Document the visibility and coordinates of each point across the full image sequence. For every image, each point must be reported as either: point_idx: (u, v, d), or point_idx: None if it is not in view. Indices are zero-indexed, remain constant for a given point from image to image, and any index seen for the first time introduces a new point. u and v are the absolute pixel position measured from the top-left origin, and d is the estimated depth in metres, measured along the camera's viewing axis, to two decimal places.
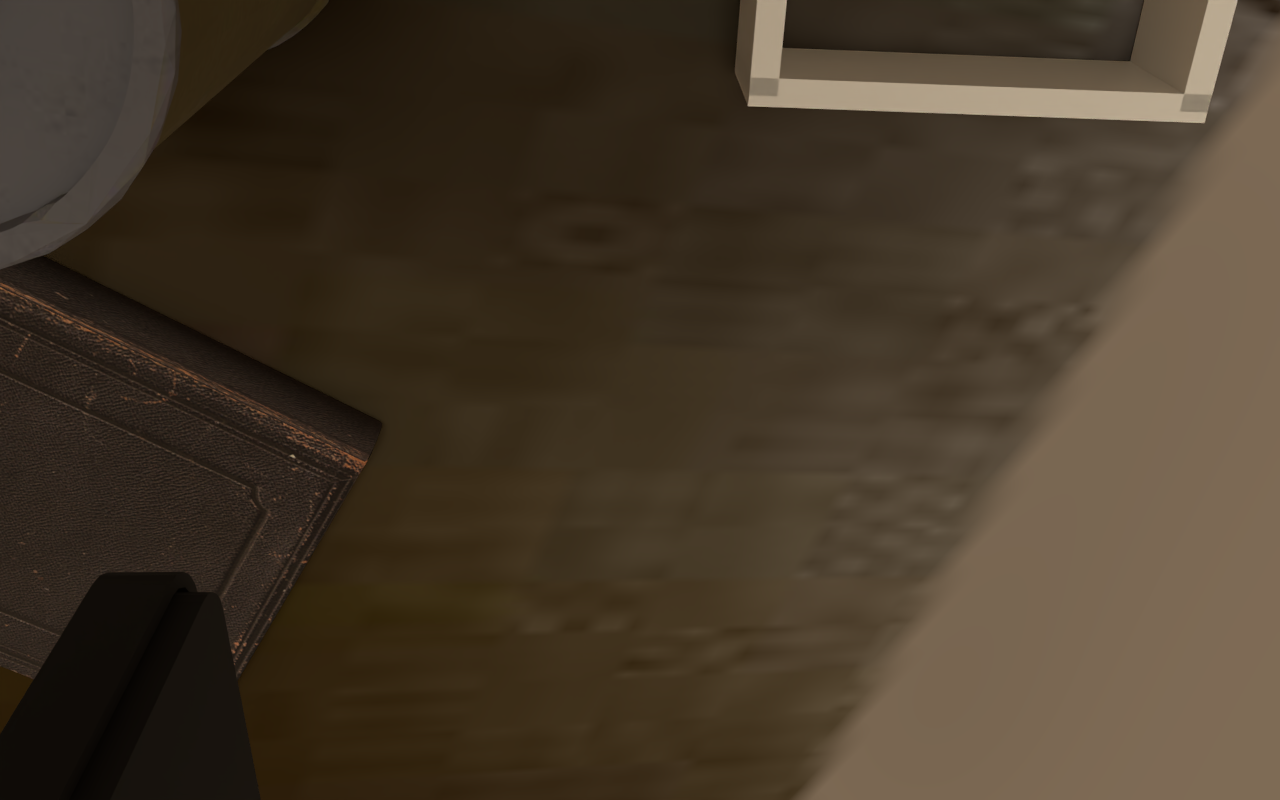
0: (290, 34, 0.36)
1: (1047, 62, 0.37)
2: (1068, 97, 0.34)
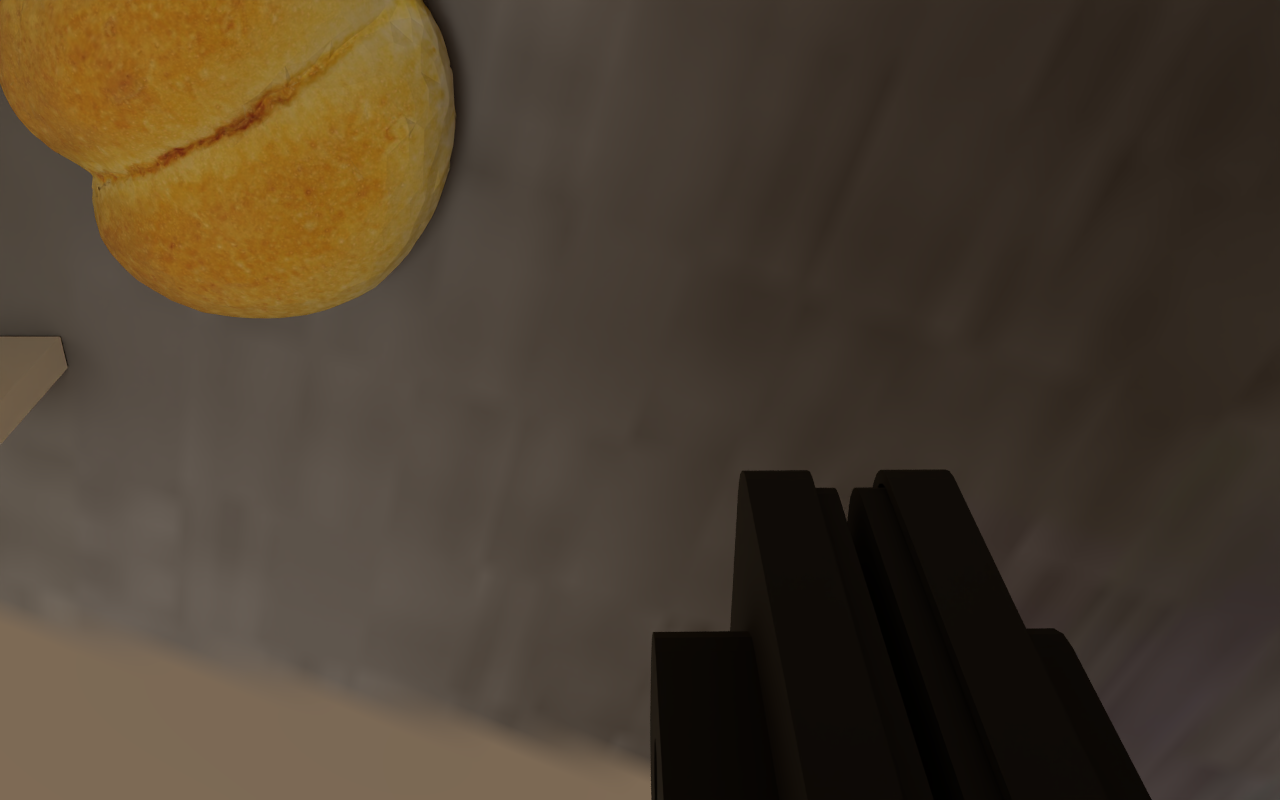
0: None
1: None
2: None
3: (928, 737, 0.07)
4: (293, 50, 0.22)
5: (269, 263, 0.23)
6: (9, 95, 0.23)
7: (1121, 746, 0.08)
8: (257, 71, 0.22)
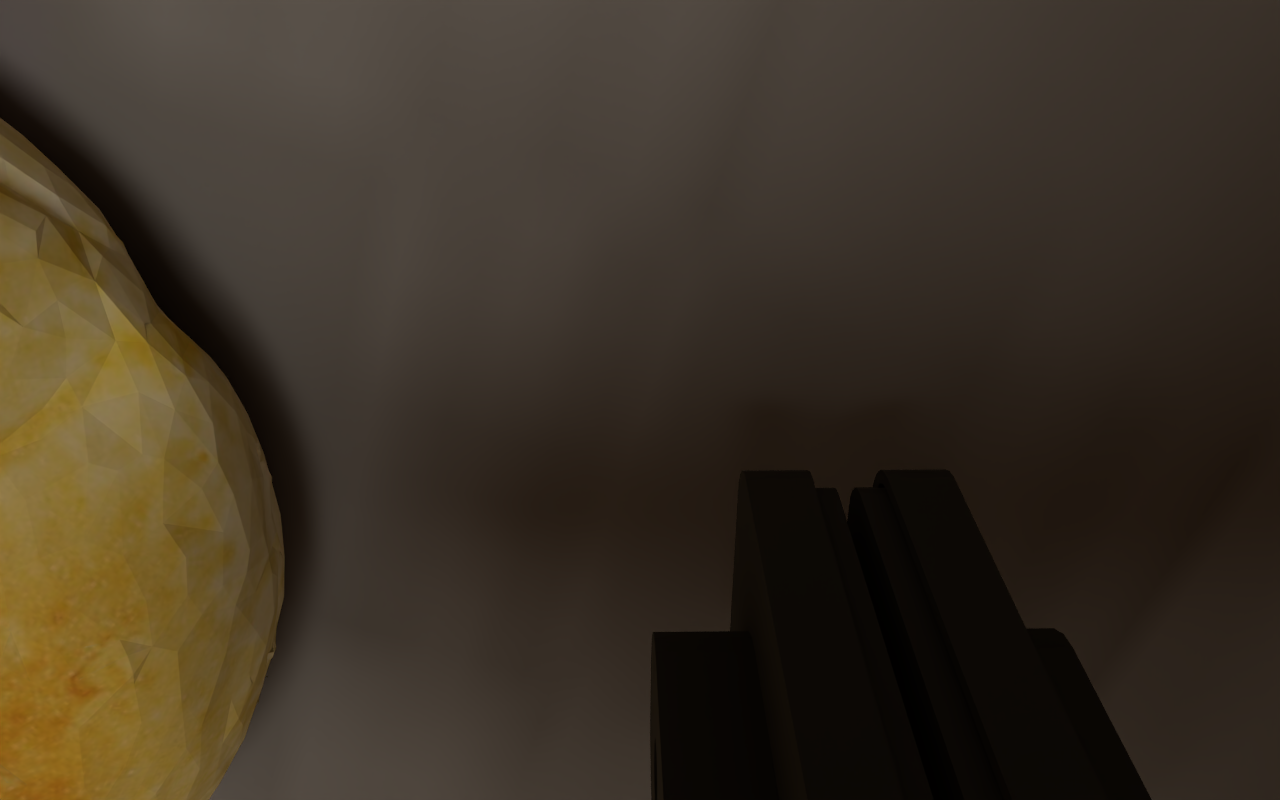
0: None
1: None
2: None
3: (928, 737, 0.07)
4: None
5: None
6: None
7: (1121, 746, 0.08)
8: None
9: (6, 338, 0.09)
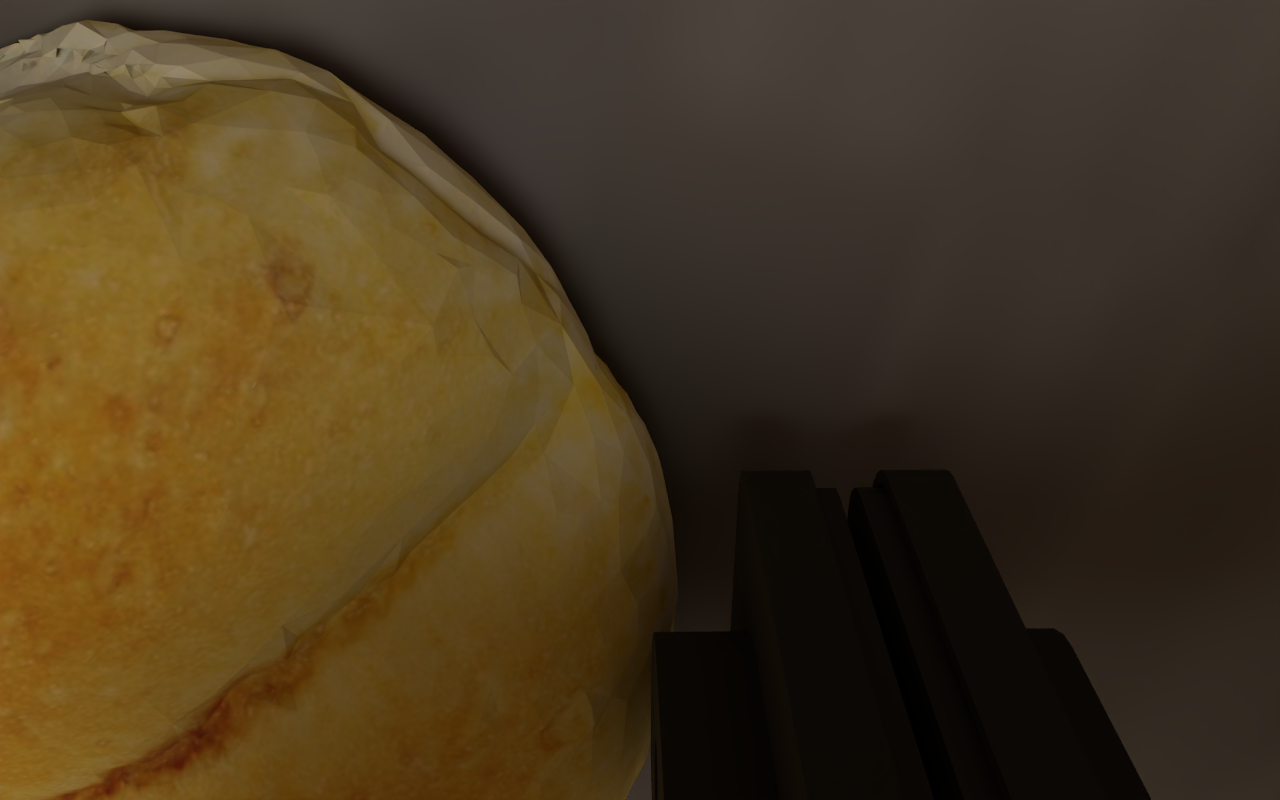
0: None
1: None
2: None
3: (927, 737, 0.07)
4: (305, 589, 0.08)
5: None
6: None
7: (1120, 746, 0.08)
8: (210, 654, 0.08)
9: (497, 387, 0.08)
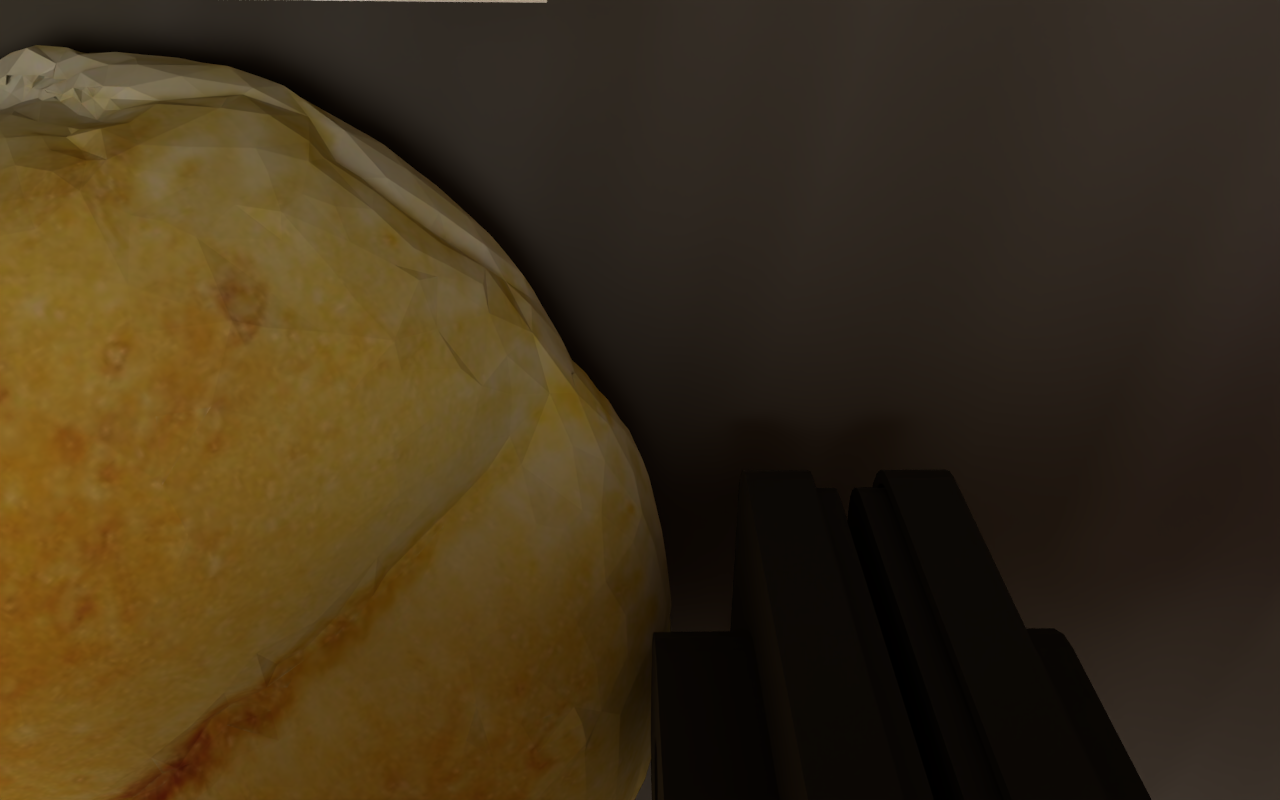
0: None
1: None
2: None
3: (928, 737, 0.07)
4: (277, 616, 0.08)
5: None
6: None
7: (1120, 746, 0.08)
8: (182, 686, 0.08)
9: (468, 400, 0.08)
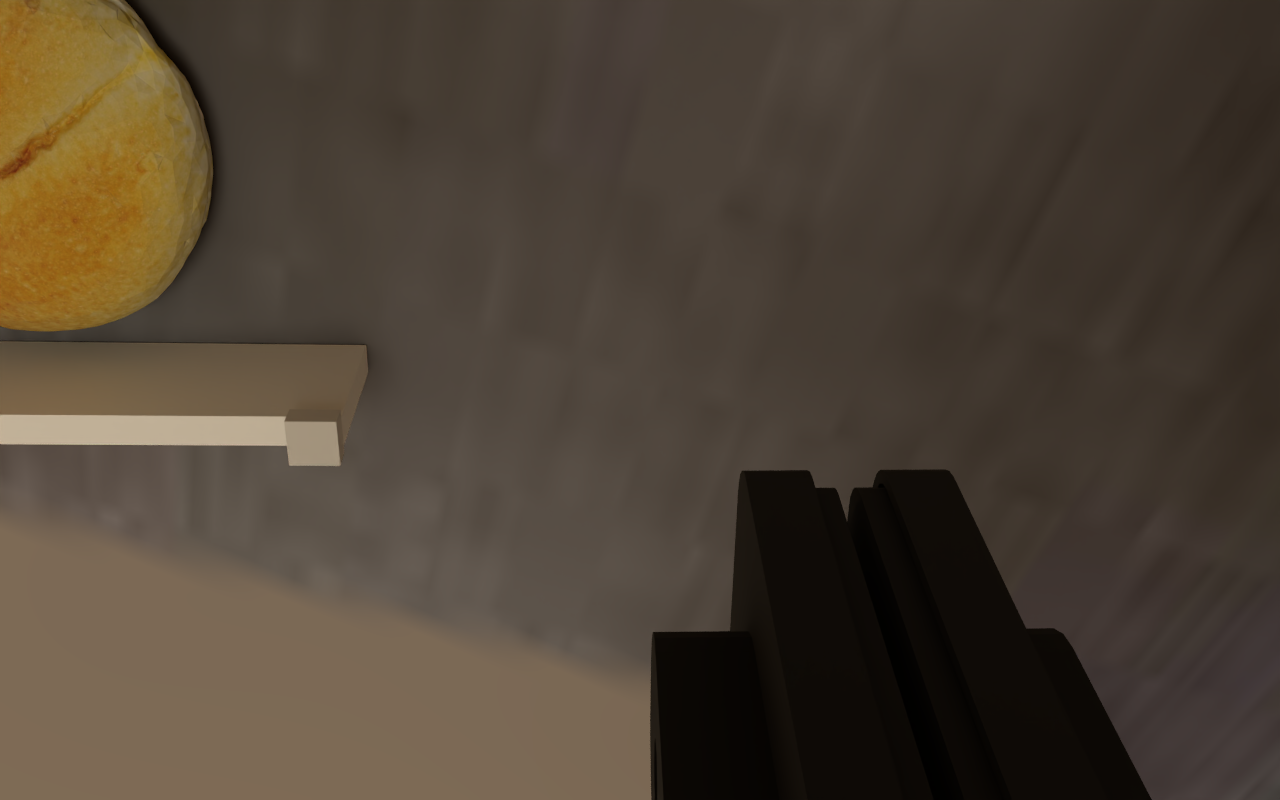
0: None
1: None
2: None
3: (928, 737, 0.07)
4: (47, 104, 0.26)
5: (50, 282, 0.28)
6: None
7: (1121, 746, 0.08)
8: (19, 124, 0.26)
9: (109, 44, 0.27)
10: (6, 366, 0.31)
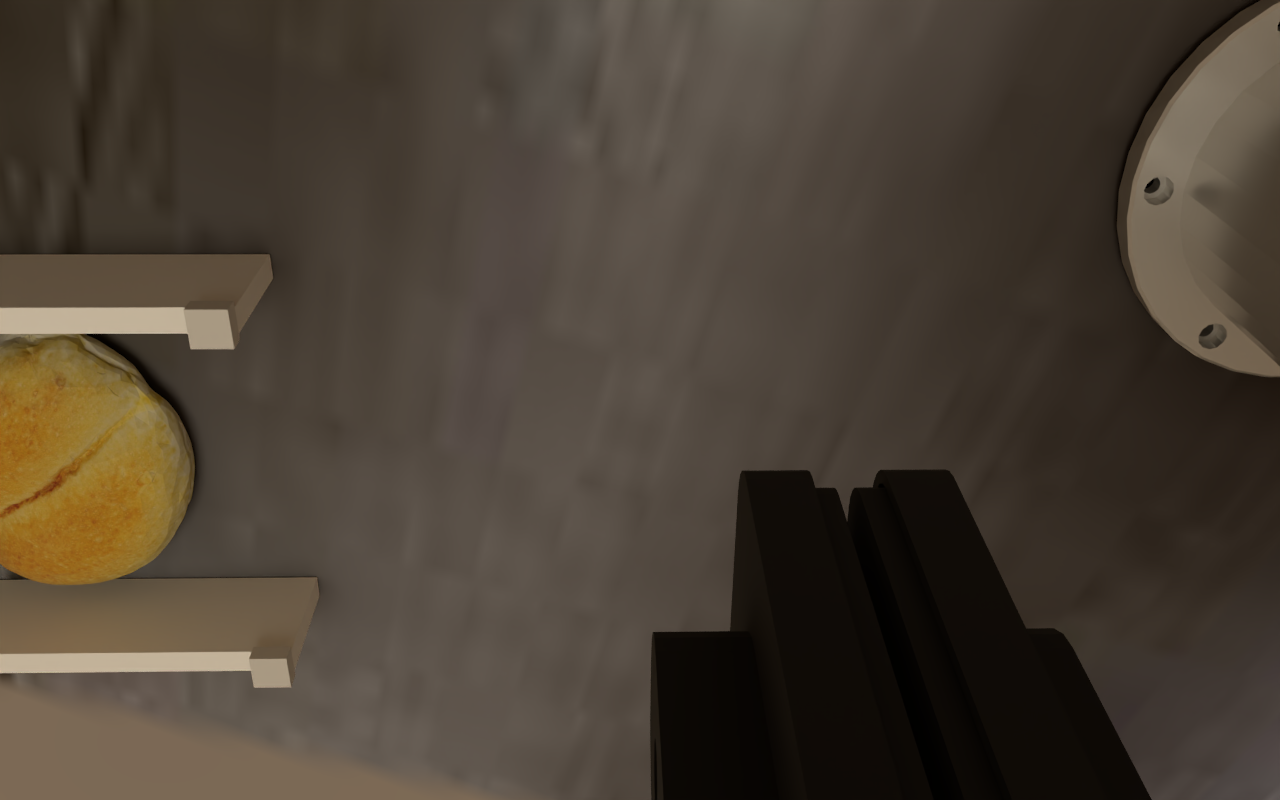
0: None
1: None
2: None
3: (928, 737, 0.07)
4: (73, 446, 0.37)
5: (77, 562, 0.38)
6: None
7: (1121, 746, 0.08)
8: (52, 461, 0.37)
9: (115, 400, 0.37)
10: (51, 605, 0.41)
